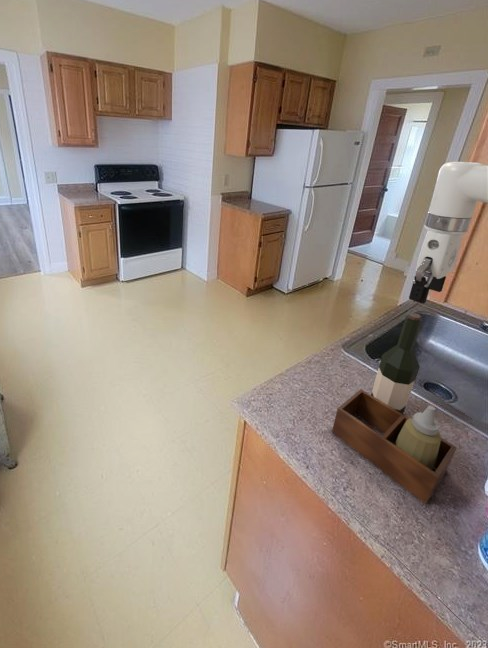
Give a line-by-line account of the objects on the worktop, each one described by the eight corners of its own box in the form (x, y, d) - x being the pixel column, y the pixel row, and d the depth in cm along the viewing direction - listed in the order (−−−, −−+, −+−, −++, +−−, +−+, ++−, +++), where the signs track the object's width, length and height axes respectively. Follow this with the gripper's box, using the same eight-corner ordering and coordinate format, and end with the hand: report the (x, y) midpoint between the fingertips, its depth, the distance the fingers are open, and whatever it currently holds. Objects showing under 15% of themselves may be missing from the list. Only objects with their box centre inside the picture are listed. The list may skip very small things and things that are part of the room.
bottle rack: (445, 472, 72) (457, 447, 69) (426, 504, 65) (437, 477, 62) (354, 411, 87) (360, 388, 84) (331, 432, 81) (337, 408, 78)
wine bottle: (409, 420, 85) (444, 323, 74) (381, 423, 84) (413, 325, 72) (388, 396, 93) (416, 305, 81) (362, 399, 91) (387, 307, 80)
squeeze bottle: (438, 486, 69) (466, 424, 62) (400, 485, 69) (424, 423, 62) (415, 452, 76) (438, 393, 70) (381, 451, 76) (401, 392, 70)
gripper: (453, 233, 60) (429, 313, 67) (480, 221, 70) (457, 291, 77) (410, 225, 66) (391, 299, 72) (441, 215, 76) (422, 281, 82)
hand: (425, 295), depth 74 cm, fingers open, 9 cm apart
